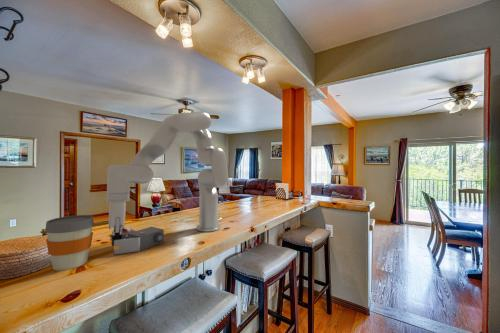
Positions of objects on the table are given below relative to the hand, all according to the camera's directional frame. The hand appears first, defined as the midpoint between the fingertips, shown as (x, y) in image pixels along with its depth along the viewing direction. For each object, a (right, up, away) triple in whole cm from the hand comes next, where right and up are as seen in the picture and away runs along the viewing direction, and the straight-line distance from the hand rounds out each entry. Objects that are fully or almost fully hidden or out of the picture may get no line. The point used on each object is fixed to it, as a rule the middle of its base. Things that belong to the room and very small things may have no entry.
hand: (116, 245), depth 83 cm
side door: (+5, -3, -1) cm, 5 cm away
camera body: (+7, -3, +8) cm, 11 cm away
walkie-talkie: (-6, -3, +16) cm, 18 cm away
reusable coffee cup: (-9, -3, -10) cm, 14 cm away
